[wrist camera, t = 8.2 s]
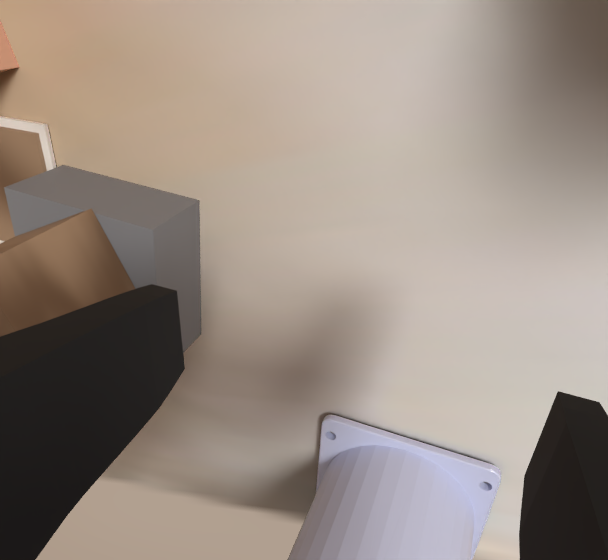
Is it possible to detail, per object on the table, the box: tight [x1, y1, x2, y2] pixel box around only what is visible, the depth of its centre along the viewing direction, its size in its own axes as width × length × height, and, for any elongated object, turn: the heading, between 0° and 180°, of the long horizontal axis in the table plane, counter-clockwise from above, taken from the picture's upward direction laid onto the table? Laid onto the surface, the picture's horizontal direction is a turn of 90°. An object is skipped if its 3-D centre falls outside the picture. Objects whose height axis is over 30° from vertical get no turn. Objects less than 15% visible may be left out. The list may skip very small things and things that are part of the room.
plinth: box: [4, 165, 201, 352], centre depth 23 cm, size 7×7×4 cm
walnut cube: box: [0, 208, 135, 336], centre depth 19 cm, size 5×5×5 cm
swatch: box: [0, 116, 57, 243], centre depth 25 cm, size 7×7×1 cm
